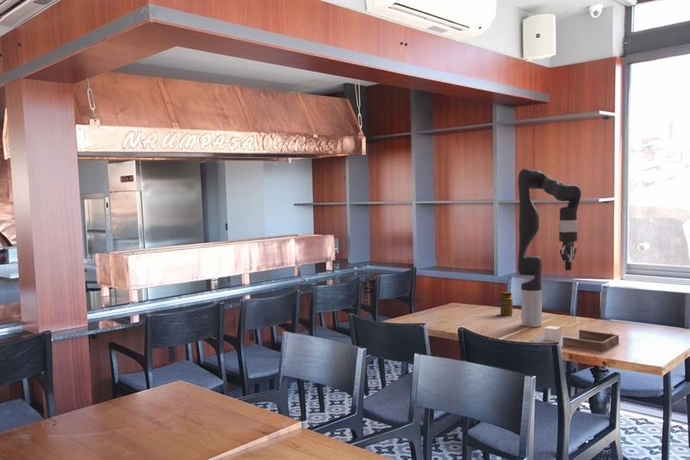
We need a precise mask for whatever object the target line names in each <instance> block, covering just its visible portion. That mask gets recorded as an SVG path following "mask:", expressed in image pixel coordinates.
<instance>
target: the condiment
mask: <svg viewBox="0 0 690 460" xmlns="http://www.w3.org/2000/svg"><path fill="white" fill-rule="evenodd" d="M512 295H513V294H512V292H510V291H504V292H503V291H502V292H501V296H500V299H499V300H500V304H499V305H500V314H499V313H498V314H495V315H494V316H495V317H502V318H510V317H515V314H513V310H514V309H513V296H512Z"/></svg>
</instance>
